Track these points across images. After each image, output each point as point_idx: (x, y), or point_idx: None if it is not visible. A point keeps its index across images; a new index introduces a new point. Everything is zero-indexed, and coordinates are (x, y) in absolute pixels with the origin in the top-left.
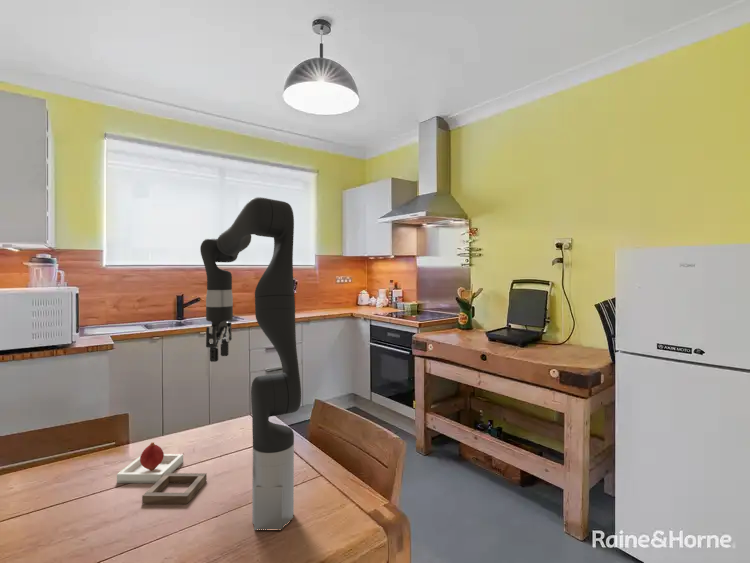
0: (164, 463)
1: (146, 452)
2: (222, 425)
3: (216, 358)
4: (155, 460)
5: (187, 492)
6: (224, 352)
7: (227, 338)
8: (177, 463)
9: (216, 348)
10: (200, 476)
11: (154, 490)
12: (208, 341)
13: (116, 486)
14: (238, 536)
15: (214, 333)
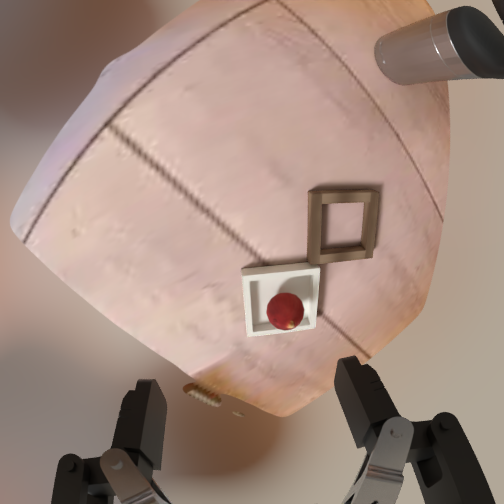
0: (256, 293)
1: (301, 320)
2: (76, 279)
3: (360, 370)
4: (298, 298)
5: (370, 196)
6: (157, 408)
7: (156, 497)
8: (263, 270)
9: (398, 420)
10: (322, 199)
11: (359, 250)
12: (433, 468)
13: (320, 314)
14: (427, 98)
15: (488, 488)
